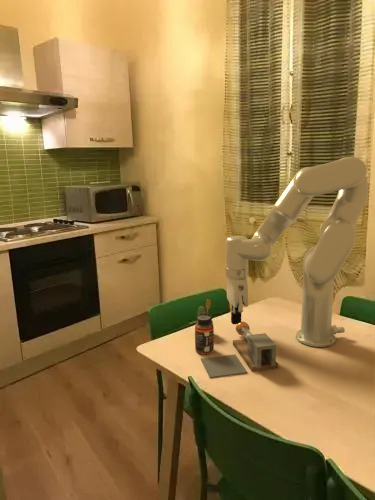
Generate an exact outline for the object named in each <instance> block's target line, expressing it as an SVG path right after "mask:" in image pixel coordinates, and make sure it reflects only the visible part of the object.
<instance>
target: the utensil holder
mask: <svg viewBox="0 0 375 500" xmlns="http://www.w3.org/2000/svg"><path fill="white" fill-rule="evenodd" d="M211 302H212V301H211V299H210V298H209V299H208V298H207V299H206V303H205V304H206V305H205V307H204V306H201V305H200V306H199V307H198V310H197V315H196V322H195V324H196V323H198V317H199V316H202V315H206V316H209V317H210V319H211V321H210V322H211V323H212V324H213V325H214V322H213V320H212V319H213V317H212V315H211V313H209V309H211ZM205 308H206V312H205V310H203V309H205ZM202 311H203V312H202Z"/></svg>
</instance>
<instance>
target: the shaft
mask: <svg viewBox="0 0 375 500" xmlns="http://www.w3.org/2000/svg"><path fill="white" fill-rule="evenodd" d="M250 330H251V329H250V325H249V324H248V322H246V321H241V322H240V323H238V324H236V327H235V331H236V333H237V334H238V335H240V336H243V337H245V338H244V339H247V340H248V335H254V334H253V332H251V331H250Z"/></svg>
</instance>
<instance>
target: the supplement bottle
mask: <svg viewBox="0 0 375 500" xmlns="http://www.w3.org/2000/svg"><path fill="white" fill-rule="evenodd" d="M210 321H211V319H210V317H209V316H206V315H202V316H199V317H198V323H196V322H195V325H194V340H195V341H194V344H195V346H194V348H195V352H196V353H198V354H201V355H208V354H212V353H213V352H214V348H215V347H214V346H215V344H214V343H215V339H214V336H215V335H214V331H215V328H214V323H213V324H212V323H211V322H210Z"/></svg>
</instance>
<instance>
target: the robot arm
mask: <svg viewBox="0 0 375 500" xmlns="http://www.w3.org/2000/svg"><path fill="white" fill-rule="evenodd" d="M367 169H368V168H367V165H366V162H364V161H363V160H362V159H361V158H360V157H359V158H358V157H356V156H355V157H354V156H346V157H342V158H340V159H337V160H334V161H331V162H330V161H329V162H327V163H323V164H319V165H314V166H306V167H303V168H301V169H299V170H298V171H297V172H296V173H295V175H294V176H293V178H292V179H291V180H290V182H289V184H288V185H286V188H285V189H284V190H283V192H282V194H281V195H280V196H279V197H278V199H277V201H276V202H275V203H274V205H273V206H272V207H271V209H270V211H269V213H268V215H267V216H266V217H265V219H264V221H263V222H262V223H261V224H260V226H259V227H258V229H257V230H256V231H255V233H254V234H253V236H252V237H251V238H249V239H248V238H247V237H246V236H242V235H230V236H227V238H226V239H225V278H226V279H227V280H226V299H227V301H228V302H229V303H230V311H231V312H230V323H231V324H232V325H237V324H238V323H240V322H242V312H244V306H245V308H248V306H249V288H248V279H247V278H248V277H249V275H248V273H249V260H250V261H255V262H263V261H265V260H267V259H268V258H270V256H271V253H272V248H273V246H274V245H275V244H276V242H277V241H278V239H279V238H280V237H281V235H282V234H283V233H284V231H286V229H287V228H288V227H290V226H291V225H293V224H294V223H295V222H296V221H297V220H298V219H299V217H300V216H301V214H302V213H303V212H304V210H305V209H306V207H307V206H308V205H309V203H310V202H311V201H312V199H313V198H314V197H316V196H321V195H327V194H330V193H334V192H338V193H337V196H336V198H335V200H334V202H333V205H332V206H331V208H330V210H329V212H328V214H327V216H326V217H325V219H324V221H323V222H322V224H321V226H320V228H319V235H320V237H319V239H318V241H317V243H316V245H315V246H311V247H310V248H309V249H308V250H307V251H305V253H304V255H303V260H302V294H301V296H302V297H301V324H300V325H301V326H300V330H298V331H296V333H295V338H296V340H297V341H298V342H299V343H301V344H304V345H306V346H309V347H314V348H315V347H317V348H326V346H327V347H329V346H330V345H331V346H332V345H334V344H335V343H336V342H337V341H336V340H337V339H336V336H335V335H336V334H342V333H345V331H346V329H345V327H344V326H337V325H336V324H335V325H333V324H332V320H333V305H334V304H333V300H334V287H335V286H334V283H335V282H334V281H335V279H336V277H337V276H338V275H339V273H340V272H341V270H342V268H343V267H344V264H345V263H346V261H347V259H348V257H349V256H350V254H351V252H352V250H353V249H354V246H355V243H356V241H357V231H356V228H355V227H356V224H357V222H358V220H359V218H360V217H361V215H362V212H363V211H364V208H365V206H366V204H367V200H368V197H369V184H368V183H369V182H368V179H367V172H368V170H367Z"/></svg>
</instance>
